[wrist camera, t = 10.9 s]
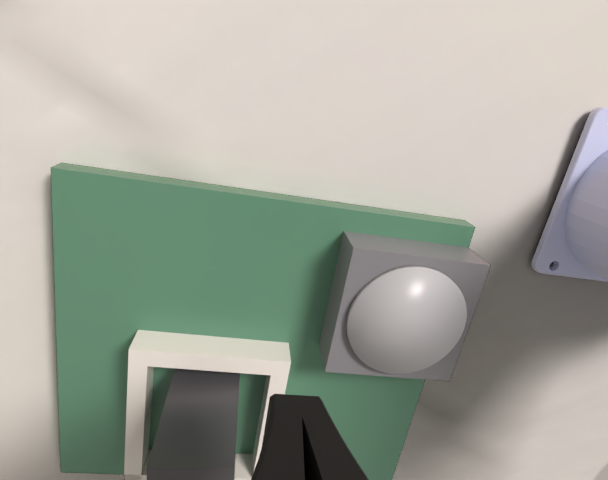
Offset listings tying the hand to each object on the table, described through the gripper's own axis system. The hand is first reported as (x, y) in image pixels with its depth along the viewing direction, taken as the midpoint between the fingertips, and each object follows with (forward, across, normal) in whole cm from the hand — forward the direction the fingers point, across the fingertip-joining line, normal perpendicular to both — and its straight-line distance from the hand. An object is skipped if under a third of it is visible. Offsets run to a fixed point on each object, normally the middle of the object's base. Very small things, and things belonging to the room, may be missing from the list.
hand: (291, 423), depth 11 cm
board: (+9, +1, +4) cm, 10 cm away
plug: (+8, +3, +6) cm, 11 cm away
